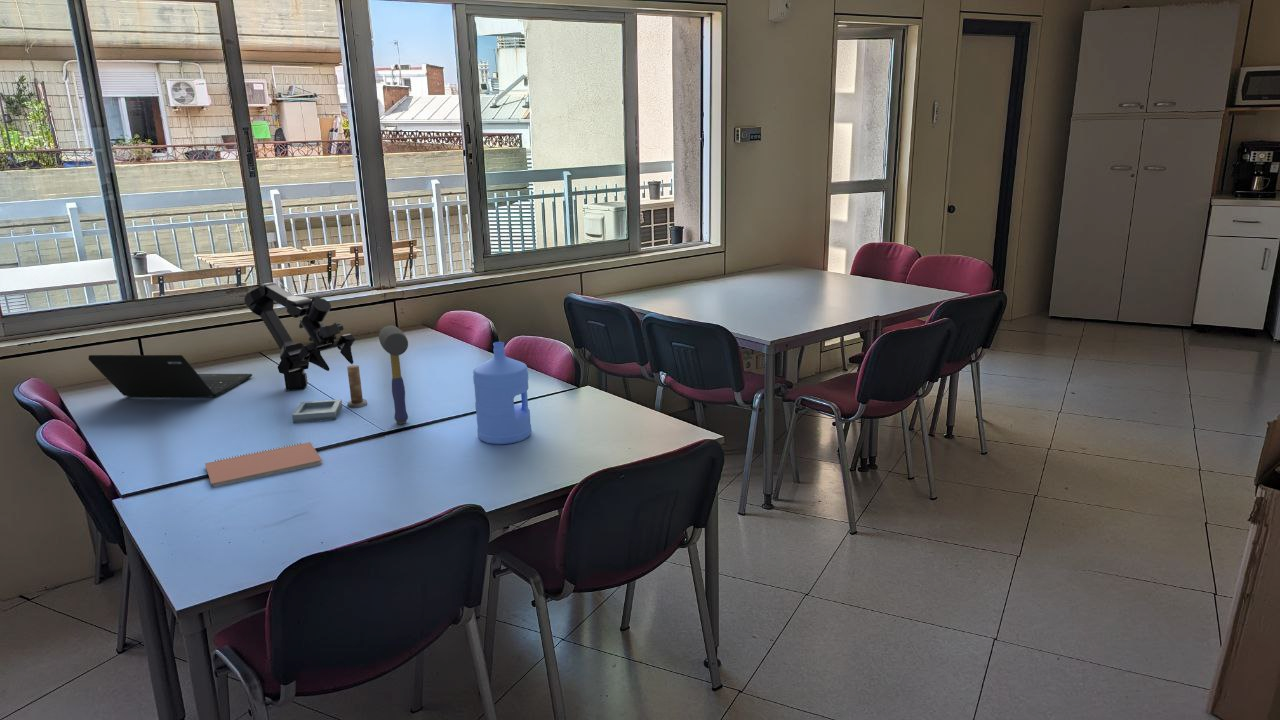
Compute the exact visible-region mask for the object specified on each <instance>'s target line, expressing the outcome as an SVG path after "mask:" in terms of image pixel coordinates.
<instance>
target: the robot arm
mask: <svg viewBox="0 0 1280 720" xmlns="http://www.w3.org/2000/svg"><path fill="white" fill-rule="evenodd" d="M243 300H244V304H245V305H246V306H247V307H248V309H249V310H250V312H251V313H254V314H255V315H256V316H259V317H260V318H261V320H262V322H263V324H264V325H265V326H266V329H268V331H269V333H270V335H271V337H272V338H273V340H274V341H275V343H276V344H277V346H278V348H279V349H280V353H279V359H280V362H279V364H278V365H277V370H278V372H279V374H283V378H284V385H285V388H284V391H299V390H305V389H306V388H307V386H308V384H309V382H308V376H307V373H306V372H305V370H308V369H309V366H310V364H314V365H315V366H318V367H319V368H321V369H323V370H325V371H327V372H329V371H330V367H329V364H327V362H326V360H325V359H324V357H323V356H322V353H321V352H322V351H327V350H330V349H334V348H337V349H338V350H340V351H339V353H340V354H341V355H342V356H343V358H345V360H346V361H347V362H348V363H349V364H351V365H354V359H353V357H354V356H353V354H352V353H353V352H352V345H353V344H354V342H355V341H356V337H355V336H354V334H352V333H346V334H342V335H340V334H341V332H342V331H344V325H343V323H342V322H341V321H335V322H333V323H332V324H331V325H324V323H323V322H324V321H325V319H326V317H327V316H328V314H329V312H330V310H331V309H332V306H331V303H330V302H329V301H328V300H326V299H325V298H320V296H319V295H315V296H313V297H312V299H311V298H309V297H306V296H301V295H300V296H298V295H295V294H293V293H291V292H290V291H287V290H285V289H284V288H283V287H280V286H279V285H277V283H276V282H267V283H262V284H261V285H259V286H258V287H256V288H255V289H252V290H251V291H249V292H247V293H246V295H245V296H244V298H243ZM275 303H278V305H280V306H283V307H285V309H286V313H288V314H289V315H290V316H291V317H293V318H294V319H297V318H300V317H301V319H300V320H299V324H298V325H299V329H304V330H305V331H306V333H307V335H308V336H309V338H308V340H309V342H311V343H307V344H303V343H302V342H298V343H297V342H295V341H294V340H293V339H292V337H291V335H290V333H289V332H288V330H287V329H286V327H285V326H284V323H282V321H281V319H280V317H279V316H278V314H277V312H275V310H274V306H275V305H274V304H275ZM338 334H339V335H340V337H339V339H338V340H336V339H337V335H338Z"/></svg>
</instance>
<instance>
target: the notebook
mask: <svg viewBox="0 0 1280 720" xmlns="http://www.w3.org/2000/svg"><path fill="white" fill-rule="evenodd" d="M321 465H323V459H322V457H321V456H320V455H319V453H318V452H317V450H316V448H315V447H314V446H313V444H312V442H310V441H309V442H304V443H302V442H299V443H294V444H291V445H290V444H289V445H286V446H285V445H284V446H281V447H279V446H278V447H275V448H270V449H268V448H267V450H266V449H265V450H264V449H263V450H262V451H261V450H259V451H256V452H255V451H253V452H251V453H248V454H247V453H245V454H244V453H243V454H240V455H238V454H237V456H236V455H235V456H231V457H230V456H228V457H225V458H220V459H217V460H216V459H214V461H211V462H205V463H204V466H205V468H206V472H207V474H208V477H209V482H210V484H211V485H212V486H213V488H217V487H222V486H228V485H232V484H236V483H242V482H246V481H250V480H255V479H259V478H264V477H269V476H273V475H278V474H283V473H288V472H292V471H298V470H302V469H308V468H312V467H316V466H321Z"/></svg>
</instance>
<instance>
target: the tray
mask: <svg viewBox="0 0 1280 720" xmlns="http://www.w3.org/2000/svg"><path fill="white" fill-rule="evenodd" d="M342 401H343V400H342V398H340V399H339V398H338V399H325V400H324V399H323V400H312V401H300V403H299V404H298V405H297V407H296V408H295V410H294V411H293V413H292V421H293V423H294V424H295V423H307V422H319V421H320V420H322V421H331V420H332V419H335V420H337V418H338V415H340V411H341V410H342V408H343V402H342ZM332 421H333V420H332Z"/></svg>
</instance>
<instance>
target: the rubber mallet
mask: <svg viewBox="0 0 1280 720" xmlns="http://www.w3.org/2000/svg"><path fill="white" fill-rule="evenodd" d="M378 341H379V343H380V345H381V347H382V349H383V350H384V351H385V352H386V353H387V354H389V355H390V365H391V375H392V378H391V393H392V398H393V404H394V405H393V406H394V417H393V418H394V420H395V422H396V423H397V424H399V425H401V424H406V423H407V421H408V419H409V416H408V412H407V407H406V406H407V405H406V389H405V383H404V378H403V377H402V372H401V363H400V356H401V355H403V354H404V353H405V352H406V351H407V350H408V347H409V341H408V338H407V337H406V333H404V331H403V330H402V329H400V327H397V326H396V325H390V324H389V325H386V326H384V327H382V328H381V329H380V330H379V333H378Z"/></svg>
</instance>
